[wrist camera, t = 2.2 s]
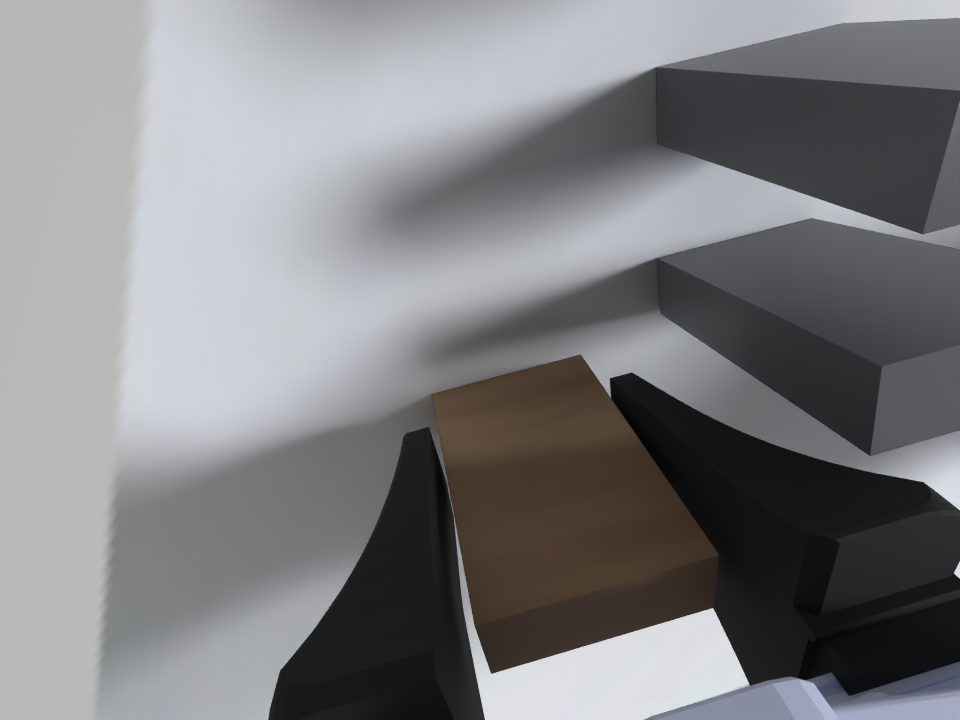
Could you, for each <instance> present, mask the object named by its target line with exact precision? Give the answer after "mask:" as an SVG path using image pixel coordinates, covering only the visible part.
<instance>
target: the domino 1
mask: <svg viewBox="0 0 960 720" xmlns="http://www.w3.org/2000/svg"><path fill="white" fill-rule="evenodd" d="M432 399H433V404H434V409H435V415H436V420H437V426H438V431H439V436H440V442H441V447H442V452H443V458H444V463H445V469H446V474H447V479H448V485H449V490H450V496H451V501H452V506H453V512H454V517H455V522H456V528H457V533H458V539H459V544H460V549H461V555H462V560H463V565H464V571H465V576H466V582H467V587H468V592H469V598H470V603H471V609H472V614H473V619H474V625H475V628H476V631H477V634H478V637H479V640H480V643H481V646H482V649H483V651H484V654H485V657H486V660H487V663H488V666H489V669H490V672H491V674H492V673H496V672H499V671H502V670H506V669H509V668H512V667H516V666H519V665H523V664H526V663H529V662H533V661H536V660H539V659H543V658H546V657H549V656H553V655H556V654H559V653H563V652H566V651H570V650H573V649H576V648H580V647H583V646H586V645H590V644H593V643H596V642H600V641H603V640H606V639H610V638H613V637H617V636H620V635H623V634H627V633H630V632H633V631H637V630H640V629H643V628H647V627H650V626H654V625H657V624H660V623H664V622H667V621H670V620H674V619H677V618H680V617H684V616H687V615H690V614H694V613H697V612H701V611H704V610H707V609H711V608H714V603H715V592H716V582H717V571H718V560H719V554H718V553H717V551H716V550H715V548H714V547H713V546H712V544H711V543H710V541H709V540H708V538H707V537H706V535H705V534H704V532H703V531H702V530H701V528H700V527H699V525H698V524H697V522H696V521H695V519H694V518H693V517H692V515H691V514H690V512H689V511H688V509H687V508H686V506H685V505H684V503H683V502H682V501H681V499H680V498H679V496H678V495H677V493H676V492H675V490H674V489H673V488H672V486H671V485H670V483H669V482H668V480H667V479H666V477H665V476H664V475H663V473H662V472H661V470H660V469H659V467H658V466H657V464H656V463H655V461H654V460H653V459H652V457H651V456H650V454H649V453H648V451H647V450H646V448H645V447H644V446H643V444H642V443H641V441H640V440H639V438H638V437H637V435H636V434H635V433H634V431H633V430H632V428H631V427H630V425H629V424H628V422H627V421H626V419H625V418H624V417H623V415H622V414H621V412H620V411H619V409H618V408H617V406H616V405H615V404H614V402H613V401H612V399H611V398H610V396H609V395H608V393H607V392H606V391H605V389H604V388H603V386H602V385H601V383H600V382H599V380H598V379H597V377H596V376H595V375H594V373H593V372H592V370H591V369H590V367H589V366H588V364H587V363H586V362H585V360H584V359H583V357H582V356H581V355H578V356H574V357H570V358H567V359H563V360H559V361H555V362H552V363H548V364H544V365H540V366H536V367H533V368H529V369H525V370H521V371H518V372H514V373H510V374H506V375H502V376H499V377H495V378H491V379H487V380H484V381H480V382H476V383H472V384H469V385H465V386H461V387H457V388H453V389H450V390H446V391H442V392H438V393H435V394H432Z"/></svg>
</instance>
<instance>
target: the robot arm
mask: <svg viewBox="0 0 960 720" xmlns="http://www.w3.org/2000/svg"><path fill="white" fill-rule="evenodd" d="M610 387H611V399H612V401H613V402H614V404H615V405H616V406H617V408H618V409H619V411H620V412H621V414H622V415H623V417H624V418H625V419H626V421H627V422H628V424H629V425H630V427H631V428H632V430H633V431H634V433H635V434H636V435H637V437H638V438H639V440H640V441H641V443H642V444H643V446H644V447H645V448H646V450H647V451H648V453H649V454H650V456H651V457H652V459H653V460H654V461H655V463H656V464H657V466H658V467H659V469H660V470H661V472H662V473H663V475H664V476H665V477H666V479H667V480H668V482H669V483H670V485H671V486H672V488H673V489H674V490H675V492H676V493H677V495H678V496H679V498H680V499H681V501H682V502H683V503H684V505H685V506H686V508H687V509H688V511H689V512H690V514H691V515H692V517H693V518H694V519H695V521H696V522H697V524H698V525H699V527H700V528H701V530H702V531H703V532H704V534H705V535H706V537H707V538H708V540H709V541H710V543H711V544H712V546H713V547H714V548H715V550H716V551H717V553H718V554H719V560H718V571H717V582H716V592H715V603H714V608H713V609H714V610H715V612H716V614H717V616H718V618H719V621H720V623H721V625H722V627H723V629H724V631H725V633H726V635H727V637H728V639H729V641H730V643H731V645H732V648H733V650H734V652H735V654H736V656H737V658H738V660H739V662H740V664H741V667H742V669H743V671H744V673H745V675H746V678H747V680H748V682H749V684H750V686H749V687H745V688H742V689H739V690H736V691H732V692H729V693H726V694H723V695H719V696H716V697H713V698H710V699H706V700H703V701H700V702H697V703H693V704H690V705H687V706H684V707H680V708H677V709H674V710H671V711H667V712H664V713H661V714H658V715H654V716H651V717H649V718H647V719H645V720H960V579H959V578H958V577H957V576H956V575H955V574H954V572H955V570H956V568H957V566H958V563H959V561H960V510H959V509H957V508H956V507H955V506H953V505H952V504H951V503H950V502H948V501H947V500H946V499H945V498H943V497H942V496H941V495H939V494H938V493H937V492H936V491H934V490H933V489H932V488H930V487H929V486H928V485H926V484H925V483H924V482H919V481H914V480H908V479H903V478H898V477H892V476H887V475H882V474H876V473H871V472H867V471H862V470H858V469H854V468H850V467H846V466H842V465H838V464H834V463H830V462H827V461H823V460H819V459H816V458H813V457H809V456H806V455H803V454H800V453H797V452H794V451H791V450H787V449H784V448H782V447H779V446H776V445H773V444H770V443H768V442H765V441H763V440H760V439H758V438H755V437H753V436H750V435H748V434H745V433H743V432H741V431H738V430H736V429H734V428H732V427H729V426H727V425H725V424H723V423H721V422H719V421H717V420H715V419H713V418H711V417H709V416H707V415H705V414H703V413H701V412H699V411H697V410H695V409H693V408H692V407H690V406H688V405H686V404H684V403H683V402H681V401H679V400H677V399H676V398H674V397H672V396H670V395H669V394H667V393H665V392H664V391H662V390H660V389H658V388H657V387H655V386H654V385H652V384H650V383H649V382H647V381H645V380H644V379H642V378H640V377H639V376H637V375H635V374H633V373H629V374H625V375H621V376H617V377H614V378H610ZM268 720H485V718H484V713H483V708H482V703H481V698H480V693H479V689H478V684H477V679H476V673H475V668H474V663H473V658H472V653H471V648H470V643H469V638H468V633H467V628H466V622H465V617H464V612H463V605H462V597H461V588H460V578H459V567H458V557H457V547H456V536H455V526H454V517H453V512H452V507H451V502H450V497H449V493H448V488H447V483H446V480H445V477H444V474H443V470H442V467H441V464H440V461H439V458H438V454H437V451H436V448H435V445H434V442H433V439H432V435H431V432H430V429H429V427H428V428H424V429H420V430H416V431H413V432H409V433H406V434H405V436H404V437H403V442H402V447H401V452H400V457H399V461H398V464H397V468H396V471H395V475H394V478H393V481H392V484H391V487H390V490H389V493H388V496H387V499H386V501H385V504H384V506H383V509H382V512H381V514H380V517H379V519H378V522H377V524H376V526H375V528H374V531H373V533H372V535H371V537H370V539H369V541H368V543H367V545H366V547H365V549H364V551H363V553H362V555H361V557H360V559H359V561H358V562H357V564H356V566H355V568H354V569H353V571H352V573H351V575H350V576H349V578H348V580H347V582H346V583H345V585H344V586H343V588H342V590H341V591H340V593H339V594H338V596H337V597H336V599H335V600H334V602H333V603H332V604H331V606H330V607H329V609H328V610H327V612H326V613H325V615H324V616H323V617H322V619H321V620H320V622H319V623H318V625H317V626H316V627H315V629H314V630H313V631H312V633H311V634H310V635H309V636H308V638H307V639H306V640H305V641H304V643H303V644H302V645H301V646H300V648H299V649H298V650H297V651H296V653H295V654H294V655H293V656H292V657H291V659H290V660H289V661H288V662H287V663H286V665H285V666H284V667H283V668H282V669H281V670H280V673H279V677H278V681H277V684H276V688H275V692H274V696H273V700H272V703H271V708H270V713H269V719H268Z"/></svg>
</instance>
